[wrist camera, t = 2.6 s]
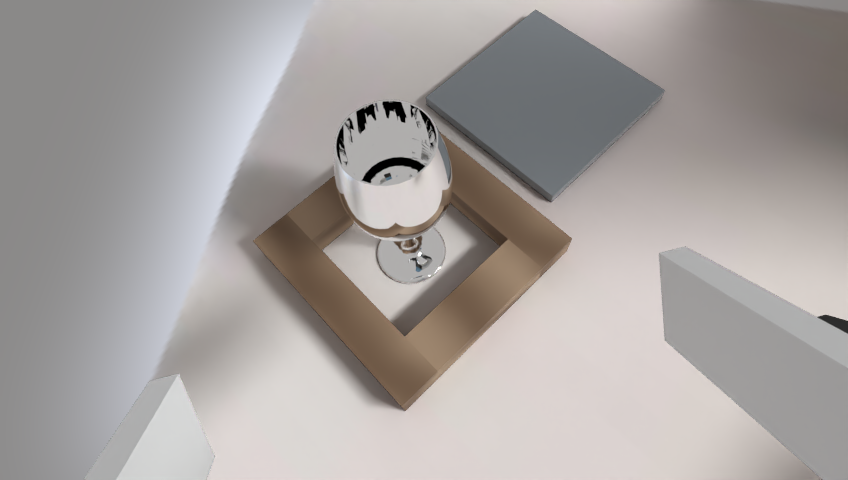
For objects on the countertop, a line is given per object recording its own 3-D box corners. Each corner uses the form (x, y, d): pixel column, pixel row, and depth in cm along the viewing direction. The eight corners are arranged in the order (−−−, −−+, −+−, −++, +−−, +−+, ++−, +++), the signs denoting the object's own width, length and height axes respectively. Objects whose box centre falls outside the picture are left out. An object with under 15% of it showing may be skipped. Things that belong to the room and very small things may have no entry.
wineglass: (364, 218, 35) (320, 98, 24) (449, 207, 35) (442, 82, 24) (370, 299, 33) (323, 205, 22) (461, 287, 32) (460, 188, 22)
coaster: (534, 17, 42) (535, 9, 41) (661, 98, 37) (665, 90, 37) (426, 104, 39) (426, 97, 38) (551, 202, 34) (552, 196, 34)
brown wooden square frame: (416, 127, 38) (414, 111, 36) (566, 250, 33) (572, 238, 31) (262, 252, 34) (252, 240, 33) (405, 411, 29) (401, 406, 28)
